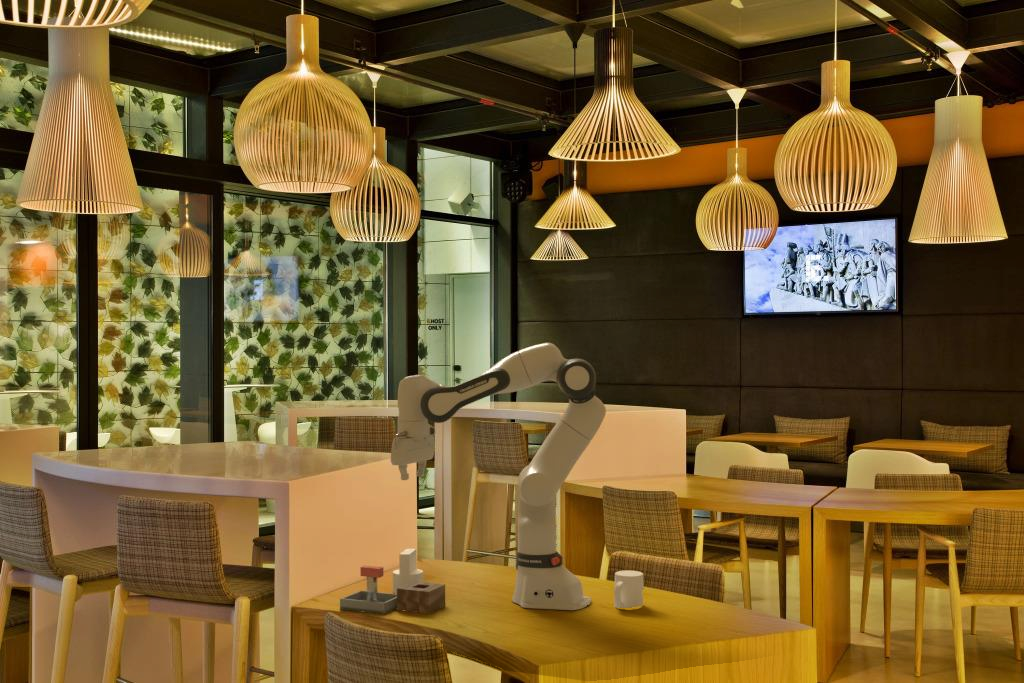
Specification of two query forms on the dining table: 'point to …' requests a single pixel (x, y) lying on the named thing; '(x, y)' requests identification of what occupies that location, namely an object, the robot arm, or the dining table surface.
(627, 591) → the mug
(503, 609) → the dining table surface
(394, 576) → the base with upright slab
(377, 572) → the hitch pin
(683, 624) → the dining table surface
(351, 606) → the tray
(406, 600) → the wooden square hole block
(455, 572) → the dining table surface
